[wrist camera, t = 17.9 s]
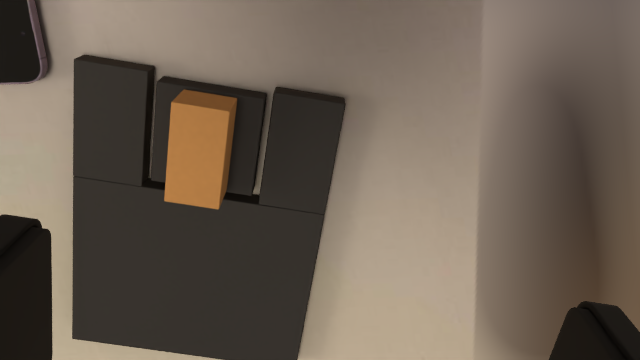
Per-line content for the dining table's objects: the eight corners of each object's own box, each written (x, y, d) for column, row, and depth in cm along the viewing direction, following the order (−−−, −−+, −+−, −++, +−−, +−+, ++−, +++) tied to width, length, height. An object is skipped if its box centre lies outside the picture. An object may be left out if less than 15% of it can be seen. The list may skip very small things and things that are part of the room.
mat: (83, 54, 35) (73, 58, 33) (344, 97, 36) (345, 103, 34) (80, 326, 42) (71, 339, 41) (296, 356, 43) (295, 370, 42)
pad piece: (163, 75, 35) (141, 93, 31) (267, 93, 35) (259, 112, 31) (156, 172, 37) (135, 200, 33) (254, 187, 38) (245, 217, 34)
